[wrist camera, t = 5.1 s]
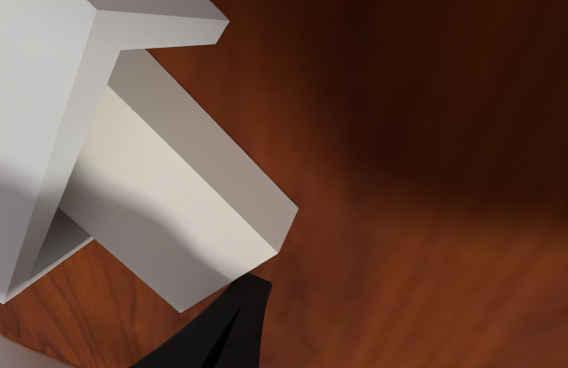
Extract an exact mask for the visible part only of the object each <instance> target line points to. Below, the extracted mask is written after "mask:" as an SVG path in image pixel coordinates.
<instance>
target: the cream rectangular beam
mask: <svg viewBox="0 0 568 368" xmlns="http://www.w3.org/2000/svg"><path fill="white" fill-rule="evenodd" d="M58 207H59V208H60V209H61V210H62V211H63V212H64V213H66V214H67V215H68V216H69V217H70V218H71V219H73V220H74V221H75V222H76V223H77V224H78V225H79V226H81V227H82V228H83V229H84V230H85V231H86V232H87V233H89V234H90V235H91V236H92V237H93V238H94V239H96V240H97V241H98V242H99V243H100V244H101V245H102V246H104V247H105V248H106V249H107V250H108V251H109V252H111V253H112V254H113V255H114V256H115V257H116V258H117V259H119V260H120V261H121V262H122V263H123V264H124V265H125V266H127V267H128V268H129V269H130V270H131V271H132V272H134V273H135V274H136V275H137V276H138V277H139V278H140V279H142V280H143V281H144V282H145V283H146V284H147V285H149V286H150V287H151V288H152V289H153V290H154V291H155V292H157V293H158V294H159V295H160V296H161V297H162V298H163V299H165V300H166V301H167V302H168V303H169V304H170V305H172V306H173V307H174V308H175V309H176V310H177V311H178V312H180V313H181V312H183V311H184V310H186V309H188V308H189V307H191V306H193V305H194V304H196V303H197V302H199V301H201V300H202V299H204V298H206V297H207V296H209V295H211V294H212V293H214V292H215V291H217V290H219V289H220V288H222V287H224V286H225V285H227V284H229V283H230V282H232V281H233V280H235V279H237V278H238V277H240V276H242V275H243V274H245V273H247V272H248V271H250V270H251V269H253V268H255V267H256V266H258V265H260V264H261V263H263V262H265V261H266V260H268V259H269V258H271V257H273V256H274V255H276V254H278V253H279V250H280V248H281V246H282V244H283V242H284V239H285V237H286V235H287V233H288V231H289V228H290V226H291V224H292V222H293V220H294V217H295V215H296V213H297V211H298V209H299V208H298V207H297V206H296V205H295V204H294V203H293V202H292V201H291V200H290V199H289V198H288V197H287V196H286V195H285V194H284V193H283V192H282V191H281V190H280V189H279V188H278V187H277V185H276V184H275V183H274V182H273V181H272V180H271V179H270V178H269V177H268V176H267V175H266V174H265V173H264V172H263V171H262V170H261V169H260V168H259V167H258V166H257V165H256V164H255V163H254V162H253V161H252V159H251V158H250V157H249V156H248V155H247V154H246V153H245V152H244V151H243V150H242V149H241V148H240V147H239V146H238V145H237V144H236V143H235V142H234V141H233V140H232V139H231V138H230V137H229V136H228V135H227V134H226V132H225V131H224V130H223V129H222V128H221V127H220V126H219V125H218V124H217V123H216V122H215V121H214V120H213V119H212V118H211V117H210V116H209V115H208V114H207V113H206V112H205V111H204V110H203V109H202V108H201V107H200V105H199V104H198V103H197V102H196V101H195V100H194V99H193V98H192V97H191V96H190V95H189V94H188V93H187V92H186V91H185V90H184V89H183V88H182V87H181V86H180V85H179V84H178V83H177V82H176V81H175V79H174V78H173V77H172V76H171V75H170V74H169V73H168V72H167V71H166V70H165V69H164V68H163V67H162V66H161V65H160V64H159V63H158V62H157V61H156V60H155V59H154V58H153V57H152V56H151V55H150V54H149V52H148V51H147V50H146V49H131V50H120V53H119V55H118V58H117V60H116V63H115V65H114V68H113V70H112V73H111V75H110V78H109V80H108V83H107V85H106V88H105V90H104V93H103V95H102V98H101V100H100V103H99V105H98V108H97V110H96V113H95V115H94V118H93V120H92V123H91V125H90V128H89V130H88V133H87V135H86V138H85V140H84V143H83V145H82V147H81V150H80V152H79V155H78V157H77V160H76V162H75V165H74V167H73V170H72V172H71V175H70V177H69V180H68V182H67V185H66V187H65V190H64V192H63V195H62V197H61V200H60V202H59V205H58Z"/></svg>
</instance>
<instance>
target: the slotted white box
mask: <svg viewBox="0 0 568 368" xmlns="http://www.w3.org/2000/svg"><path fill="white" fill-rule="evenodd" d="M228 23H229V20H228V19H227V18H226V16H225V15H224V14H223V13H222V12H221V11H220V10H219V9H218V8H217V7H216V6H215V5H214V4H213V3H212V2H211V1H210V0H0V302H1V303H2V304H4V303H6V302H7V301H8V300H10V299H11V298H13V297H14V296H15V295H17V294H18V293H19V292H21V291H22V290H24V289H25V288H26V287H28V286H29V285H31V284H32V283H33V282H35V281H36V280H37V279H39V278H40V277H42V276H43V275H44V274H46V273H47V272H49V271H50V270H51V269H53V268H54V267H55V266H57V265H58V264H60V263H61V262H62V261H64V260H65V259H67V258H68V257H69V256H71V255H72V254H73V253H75V252H76V251H78V250H79V249H80V248H82V247H83V246H85V245H86V244H87V243H89V242H90V241H91V240H93V239H94V238H93V237H92V236H91V235H90V234H89V233H87V232H86V231H85V230H84V229H83V228H82V227H81V226H79V225H78V224H77V223H76V222H75V221H74V220H73V219H71V218H70V217H69V216H68V215H67V214H66V213H64V212H63V211H62V210H61V209H60V208H59V207H58V205H59V202H60V200H61V197H62V195H63V192H64V190H65V187H66V185H67V182H68V180H69V177H70V175H71V172H72V170H73V167H74V165H75V162H76V160H77V157H78V155H79V152H80V150H81V147H82V145H83V143H84V140H85V138H86V135H87V133H88V130H89V128H90V125H91V123H92V120H93V118H94V115H95V113H96V110H97V108H98V105H99V103H100V100H101V98H102V95H103V93H104V90H105V88H106V85H107V83H108V80H109V78H110V75H111V73H112V70H113V68H114V65H115V63H116V60H117V58H118V55H119V53H120V50H131V49H146V48H161V47H177V46H192V45H207V44H216V43H217V41H218V39H219V38H220V36H221V34H222V33H223V31H224V29H225V28H226V26H227V25H228Z"/></svg>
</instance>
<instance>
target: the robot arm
mask: <svg viewBox="0 0 568 368" xmlns="http://www.w3.org/2000/svg"><path fill="white" fill-rule="evenodd" d="M271 288H272V284H271V282H269V281H267V280H264V279H262V278H260V277H257V276H255V275H252V274H250V273H245V274H243V275H242V276H240V277H238V278H237V279H235V280H234V281H233V282H232V283H231V284H230V285H229V286H228V288H227V289H226V290H225V291H224V292H223V293H222V294H221V295H220V296H219V297H218V298H217V299H215V300H214V301H213V302H212V303H211V304H210V305H209V306H208V307H207V308H206V309H205V310H204V311H203V312H201V313H200V314H199V315H198V316H197V317H196V318H194V319H193V320H192V321H191V322H190V323H188V324H187V325H186V326H185V327H184V328H182V329H181V330H180V331H179V332H178V333H176V334H175V335H174V336H172V337H171V338H170V339H169V340H167V341H166V342H165V343H163V344H162V345H161V346H159V347H158V348H156V349H155V350H154V351H152V352H151V353H150V354H148V355H147V356H145V357H144V358H142V359H141V360H139V361H138V362H136V363H135V364H133V365H132V366H130V367H129V368H259V357H260V344H261V335H262V327H263V320H264V314H265V309H266V305H267V301H268V298H269V295H270V292H271Z"/></svg>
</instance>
